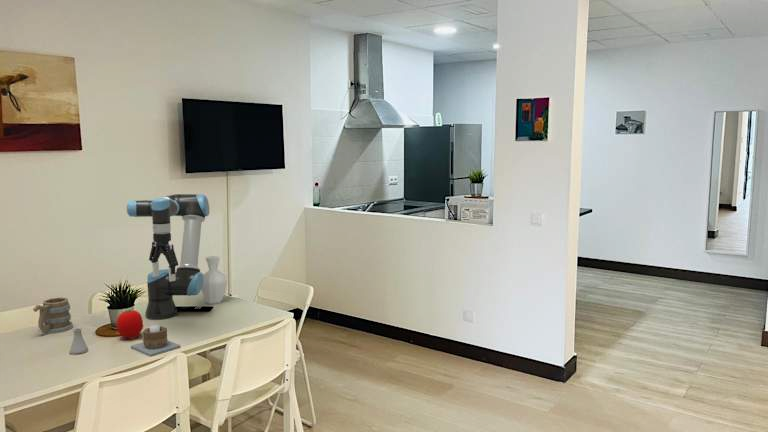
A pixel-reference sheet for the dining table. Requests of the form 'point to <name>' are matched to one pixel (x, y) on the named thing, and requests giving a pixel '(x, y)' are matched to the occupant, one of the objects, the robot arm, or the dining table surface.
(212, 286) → the vase
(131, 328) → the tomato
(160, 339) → the collar
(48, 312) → the tankard
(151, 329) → the post fixture
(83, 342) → the flask
